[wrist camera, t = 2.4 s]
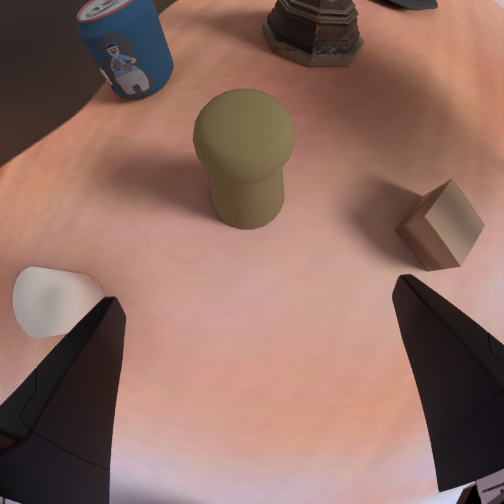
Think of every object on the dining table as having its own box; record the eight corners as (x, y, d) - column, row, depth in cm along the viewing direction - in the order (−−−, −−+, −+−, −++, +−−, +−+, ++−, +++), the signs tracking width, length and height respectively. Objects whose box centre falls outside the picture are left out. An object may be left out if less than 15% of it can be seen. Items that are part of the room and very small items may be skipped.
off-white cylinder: (73, 335, 21) (23, 345, 14) (57, 284, 22) (7, 280, 15) (113, 320, 22) (65, 328, 15) (96, 265, 22) (47, 255, 15)
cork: (214, 235, 22) (180, 184, 12) (207, 166, 23) (177, 81, 12) (290, 224, 23) (321, 166, 12) (277, 156, 23) (293, 68, 12)
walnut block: (427, 271, 22) (460, 266, 17) (394, 230, 23) (424, 216, 18) (452, 235, 22) (484, 225, 18) (422, 196, 23) (451, 178, 18)
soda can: (157, 52, 25) (129, -24, 14) (188, 77, 25) (163, -13, 13) (107, 86, 25) (63, 15, 13) (133, 115, 24) (81, 34, 12)
